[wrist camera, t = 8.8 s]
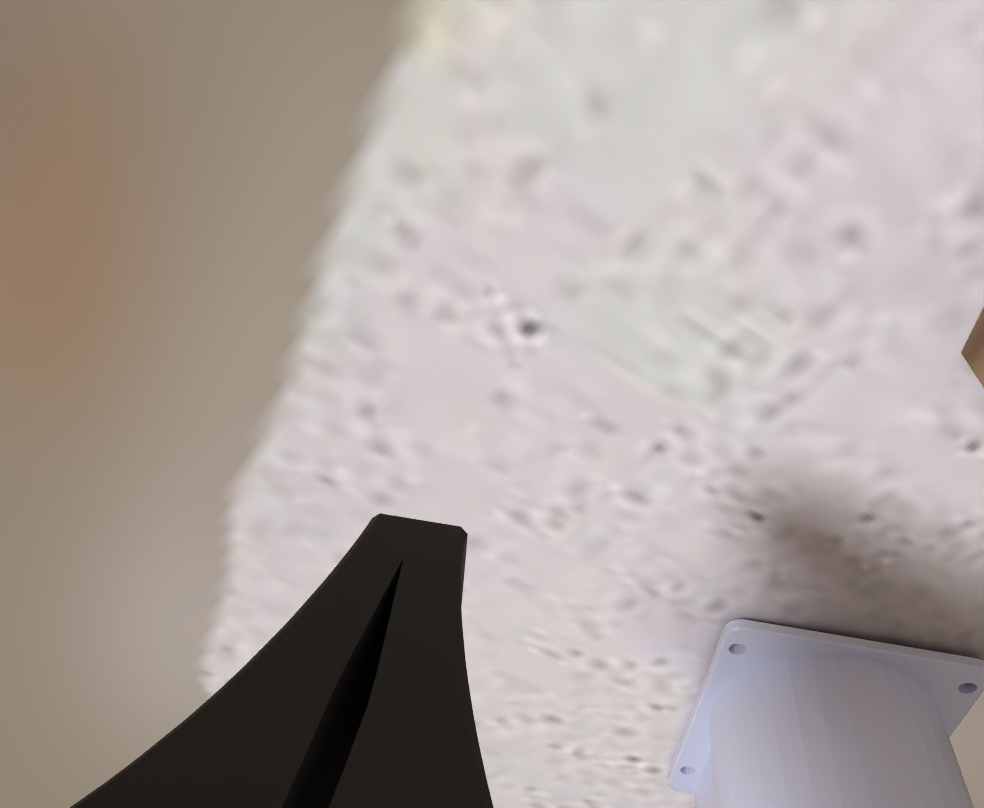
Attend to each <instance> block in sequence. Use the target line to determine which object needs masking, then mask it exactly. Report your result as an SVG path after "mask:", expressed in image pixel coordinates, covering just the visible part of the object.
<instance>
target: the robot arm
mask: <svg viewBox="0 0 984 808" xmlns="http://www.w3.org/2000/svg"><path fill="white" fill-rule="evenodd" d="M466 546H467V533H466V532H465V531H464V530H463V529H462V528H461V527H459V526H453V525H447V524H441V523H435V522H429V521H422V520H416V519H410V518H404V517H398V516H392V515H386V514H378V515H377V516H375V517H373V518H372V519H371V521H370V522H369V524H368V525H367V527H366V528H365V530H364V531H363V532H362V534H361V535H360V536H359V538H358V539H357V540H356V542H355V543H354V544H353V546H352V547H351V548H350V550H349V551H348V552H347V553H346V555H345V556H344V557H343V559H342V560H341V561H340V562H339V564H338V565H337V566H336V567H335V568H334V570H333V571H332V572H331V573H330V574H329V576H328V577H327V578H326V579H325V581H324V582H323V583H322V584H321V585H320V586H319V587H318V589H317V590H316V591H315V592H314V593H313V594H312V595H311V596H310V598H309V599H308V600H307V601H306V602H305V603H304V604H303V606H302V607H301V608H300V609H299V610H298V611H297V612H296V613H295V615H294V616H293V617H292V618H291V619H290V620H289V621H288V622H287V623H286V624H285V625H284V626H283V628H282V629H281V630H280V631H279V632H278V633H277V634H276V635H275V636H274V637H273V638H272V639H271V640H270V641H269V642H268V643H267V644H266V645H265V646H264V647H263V648H262V649H261V650H260V651H259V652H258V653H257V654H256V655H255V656H254V657H253V658H252V659H251V660H250V661H249V662H248V663H247V664H246V665H245V666H244V667H243V668H242V669H241V670H240V671H239V672H238V673H237V674H236V675H235V676H233V677H232V678H231V679H230V680H229V681H228V682H227V683H226V684H225V685H224V686H223V687H222V688H221V689H220V690H218V691H217V692H216V693H215V694H214V695H213V696H212V697H211V698H210V699H208V700H207V701H206V702H205V703H204V704H203V705H202V706H200V707H199V708H198V709H197V710H196V711H195V712H194V713H192V714H191V715H190V716H189V717H188V718H187V719H186V720H184V721H183V722H182V723H181V724H179V725H178V726H177V727H176V728H175V729H173V730H172V731H171V732H170V733H168V734H167V735H166V736H165V737H164V738H162V739H161V740H160V741H158V742H157V743H156V744H155V745H154V746H152V747H151V748H150V749H149V750H147V751H146V752H145V753H144V754H142V755H141V756H140V757H139V758H137V759H136V760H135V761H133V762H132V763H131V764H130V765H128V766H127V767H126V768H124V769H123V770H122V771H120V772H119V773H118V774H116V775H115V776H114V777H112V778H111V779H110V780H109V781H107V782H106V783H104V784H103V785H101V786H100V787H98V788H97V789H96V790H94V791H93V792H91V793H90V794H88V795H87V796H86V797H84V798H83V799H81V800H80V801H79V802H77V803H76V804H74V805H73V806H71V807H70V808H493V804H492V800H491V796H490V792H489V788H488V784H487V780H486V775H485V770H484V766H483V761H482V757H481V752H480V747H479V742H478V737H477V732H476V727H475V721H474V716H473V710H472V703H471V697H470V691H469V684H468V677H467V669H466V661H465V651H464V640H463V628H462V614H461V604H462V593H463V581H464V569H465V558H466ZM983 690H984V660H981V659H977V658H972V657H966V656H960V655H954V654H948V653H942V652H936V651H930V650H924V649H918V648H912V647H906V646H900V645H894V644H888V643H882V642H877V641H871V640H865V639H859V638H853V637H847V636H841V635H835V634H829V633H823V632H817V631H811V630H805V629H799V628H793V627H787V626H781V625H775V624H769V623H763V622H757V621H751V620H745V619H736V620H732V621H730V622H729V623H727V624H726V625H725V627H724V629H723V632H722V634H721V637H720V639H719V642H718V645H717V647H716V650H715V652H714V655H713V658H712V660H711V663H710V665H709V668H708V671H707V673H706V676H705V679H704V681H703V684H702V686H701V689H700V692H699V694H698V697H697V699H696V702H695V705H694V707H693V710H692V712H691V715H690V718H689V720H688V723H687V725H686V728H685V731H684V733H683V736H682V738H681V741H680V744H679V746H678V749H677V752H676V754H675V757H674V759H673V762H672V765H671V767H670V770H669V772H668V785H669V786H670V788H672V789H673V790H675V791H679V792H684V793H689V794H695V808H974V807H973V804H972V801H971V799H970V796H969V793H968V790H967V787H966V784H965V782H964V779H963V776H962V773H961V770H960V767H959V765H958V762H957V759H956V756H955V753H954V750H953V748H952V745H951V742H950V739H949V737H950V736H951V734H952V733H953V731H954V730H955V729H956V727H957V726H958V724H959V723H960V722H961V720H962V719H963V718H964V716H965V715H966V714H967V712H968V711H969V709H970V708H971V707H972V705H973V704H974V703H975V701H976V700H977V698H978V697H979V696H980V694H981V693H982V692H983Z"/></svg>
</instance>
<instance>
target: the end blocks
mask: <svg viewBox="0 0 984 808" xmlns="http://www.w3.org/2000/svg"><path fill="white" fill-rule="evenodd" d="M961 353H962V355H963V357H964V358H965V360H966V361H967V363H968V364H969V366H970V367H971V369H972V370H973V372H974V373H975V375H976V377H977V378H978V380H979V381H980V383H981V384H982V386H983V387H984V308H983V310H982V312H981V314H980V316H979V318H978V320H977V322H976V324H975V326H974V328H973V330H972V332H971V334H970V336H969V338H968V340H967V342H966V344H965V346H964V348H963V350H962V352H961Z"/></svg>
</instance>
